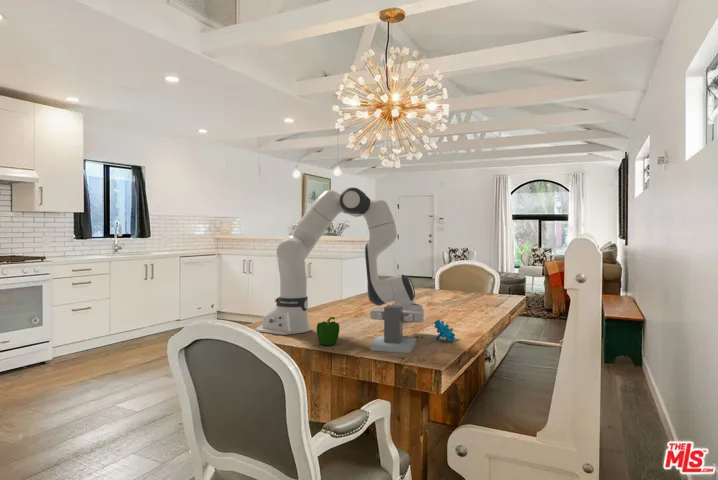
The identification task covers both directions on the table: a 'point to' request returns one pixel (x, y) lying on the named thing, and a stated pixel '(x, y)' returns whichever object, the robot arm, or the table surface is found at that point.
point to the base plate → (393, 345)
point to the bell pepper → (328, 332)
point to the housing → (393, 324)
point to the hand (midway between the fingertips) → (393, 318)
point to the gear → (444, 331)
